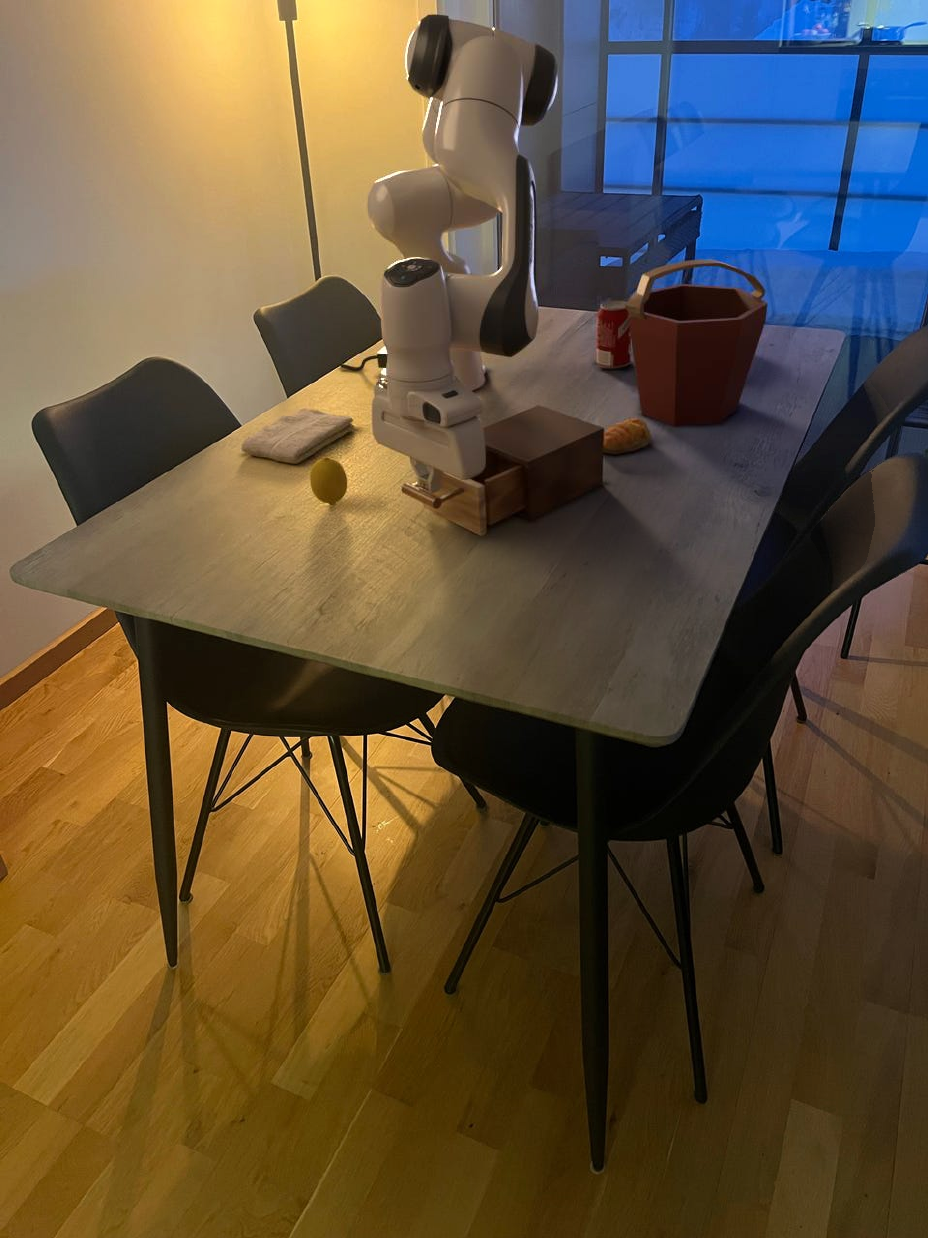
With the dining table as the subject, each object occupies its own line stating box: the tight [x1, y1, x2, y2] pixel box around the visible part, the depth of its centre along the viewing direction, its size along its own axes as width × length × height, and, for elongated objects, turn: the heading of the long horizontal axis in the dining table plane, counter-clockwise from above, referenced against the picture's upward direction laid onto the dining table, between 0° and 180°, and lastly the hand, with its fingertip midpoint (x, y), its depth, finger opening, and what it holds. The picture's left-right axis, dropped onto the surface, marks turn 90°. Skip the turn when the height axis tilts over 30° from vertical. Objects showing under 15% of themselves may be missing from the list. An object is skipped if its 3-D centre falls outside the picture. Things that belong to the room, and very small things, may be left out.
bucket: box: [625, 259, 769, 427], centre depth 162 cm, size 24×22×25 cm
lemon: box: [309, 456, 348, 506], centre depth 143 cm, size 6×6×8 cm
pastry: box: [603, 417, 653, 455], centre depth 155 cm, size 9×7×4 cm
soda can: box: [595, 300, 632, 370], centre depth 185 cm, size 7×7×12 cm
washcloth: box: [241, 408, 355, 465], centre depth 165 cm, size 12×18×3 cm, turn 150°
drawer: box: [401, 450, 526, 536], centre depth 136 cm, size 20×13×7 cm, turn 131°
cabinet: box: [483, 404, 605, 521], centre depth 143 cm, size 16×14×9 cm
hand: (429, 488), depth 130 cm, fingers closed, pressing on drawer
